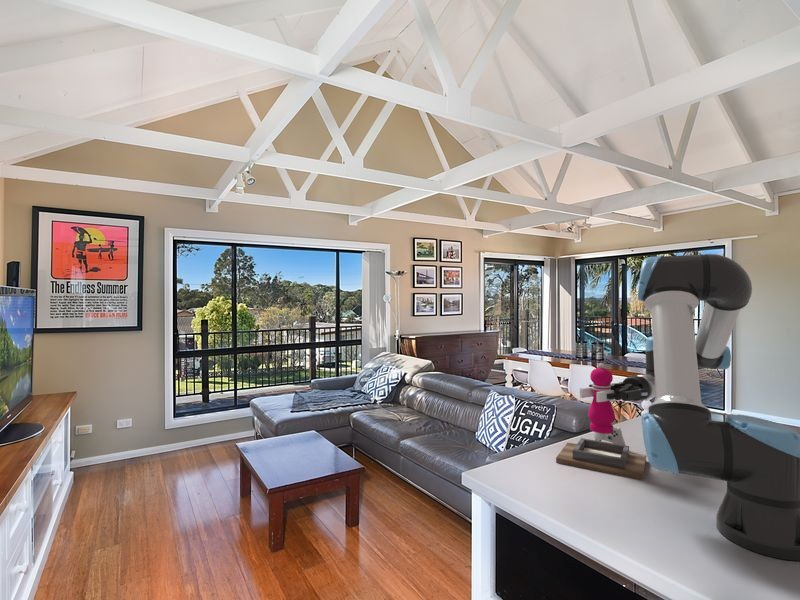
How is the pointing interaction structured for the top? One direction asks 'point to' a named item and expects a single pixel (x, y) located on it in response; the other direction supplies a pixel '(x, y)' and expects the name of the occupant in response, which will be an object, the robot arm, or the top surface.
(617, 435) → the gaming controller
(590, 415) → the pepper mill
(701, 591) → the top surface
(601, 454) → the socket board
